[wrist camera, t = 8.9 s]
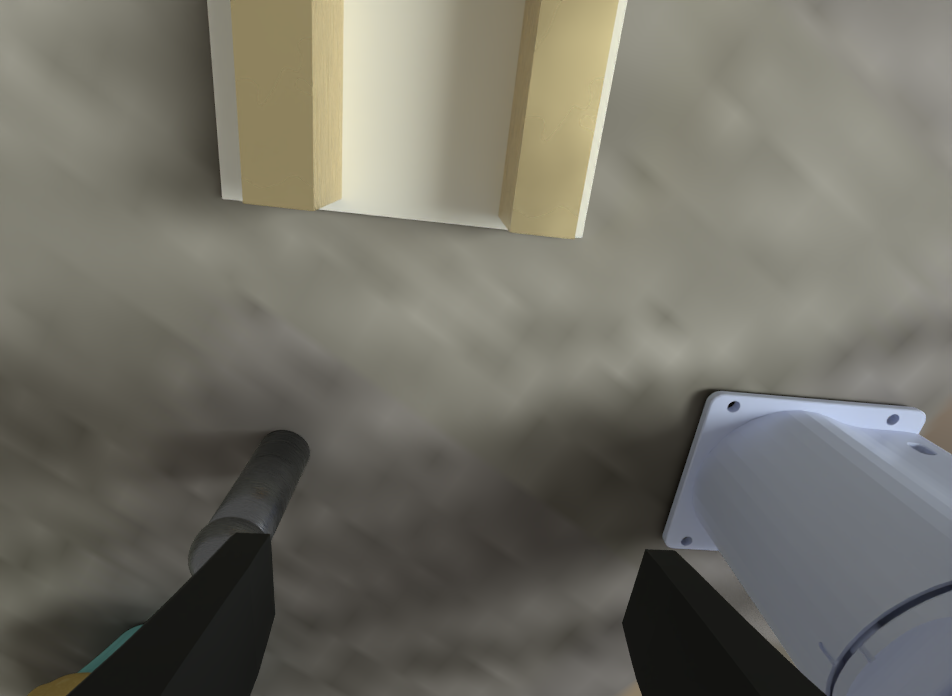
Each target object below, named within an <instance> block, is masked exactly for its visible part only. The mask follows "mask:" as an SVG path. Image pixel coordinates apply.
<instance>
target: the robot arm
mask: <svg viewBox="0 0 952 696" xmlns="http://www.w3.org/2000/svg"><path fill="white" fill-rule="evenodd" d="M733 401H735V403H734V405H733V406H731V407H729V408H727V407H728V405H729V403H731V402H733ZM889 416H890V417H889ZM888 417H889V418H888ZM925 420H926V415H925V413H924V412H923V411H921V410H919V409H917V408H914V407H907V406H895V405H883V404H871V403H859V402H847V401H835V400H823V399H811V398H799V397H787V396H775V395H764V394H752V393H740V392H728V391H716V392H714V393H712V394H711V395H710V396H709V397H708V398H707V400H706V403H705V406H704V409H703V412H702V415H701V418H700V421H699V424H698V427H697V430H696V434H695V437H694V440H693V443H692V446H691V449H690V452H689V455H688V458H687V461H686V464H685V467H684V470H683V474H682V477H681V480H680V483H679V486H678V489H677V492H676V495H675V498H674V501H673V504H672V507H671V510H670V514H669V517H668V520H667V523H666V526H665V529H664V532H663V537H662V538H663V540H664V542H665V544H666V545H667V546H668V547H670V548H678V549H696V550H715V551H720V553H721V554H722V556H723V557H724V559H725V560H726V562H727V563H728V565H729V566H730V568H731V569H732V571H733V572H734V574H735V575H736V577H737V578H738V580H739V581H740V583H741V584H742V586H743V587H744V589H745V590H746V592H747V593H748V595H749V596H750V598H751V599H752V601H753V602H754V604H755V605H756V607H757V608H758V610H759V611H760V613H761V614H762V616H763V617H764V619H765V620H766V622H767V623H768V625H769V626H770V628H771V629H772V631H773V632H774V634H775V635H776V637H777V638H778V640H779V641H780V643H781V644H782V646H783V647H784V649H785V650H786V652H787V653H788V655H789V656H790V658H791V659H792V661H793V662H794V664H795V665H796V667H797V668H798V669H797V668H796V667H795V666H794V665H793V664H792V663H790V662H789V661H788V660H787V659H786V658H785V657H784V656H783V655H782V654H781V653H780V652H779V651H778V650H777V649H775V648H774V647H773V646H772V645H771V644H770V643H769V642H768V641H767V640H766V639H765V638H764V637H763V636H762V635H761V634H760V633H759V632H758V631H757V630H756V629H755V628H754V627H753V626H752V625H750V624H749V623H748V622H747V621H746V620H745V619H744V618H743V617H742V616H741V615H740V614H739V613H738V612H737V611H736V610H735V609H734V608H733V607H732V606H731V605H730V604H729V603H728V602H727V601H726V600H725V599H724V598H723V597H722V596H721V595H720V594H719V593H718V592H717V591H716V590H715V589H714V588H713V587H712V586H711V585H710V584H709V583H708V582H707V581H706V580H705V579H704V578H703V577H702V576H701V575H700V574H699V573H698V572H697V571H696V570H695V569H694V568H693V567H692V566H691V565H690V564H688V563H687V562H686V561H685V560H684V559H683V558H682V557H681V556H680V555H679V554H678V553H677V552H676V551H673V550H648V549H645V552H644V556H643V559H642V562H641V565H640V568H639V571H638V575H637V578H636V581H635V584H634V587H633V590H632V593H631V597H630V600H629V603H628V606H627V609H626V612H625V616H624V619H623V622H622V624H623V628H624V633H625V637H626V641H627V645H628V649H629V653H630V657H631V661H632V665H633V668H634V672H635V676H636V679H637V682H638V685H639V688H640V691H641V693H642V696H952V454H950V453H948V452H947V451H945V450H943V449H942V448H940V447H938V446H937V445H935V444H934V443H932V442H930V441H929V440H927V439H925V438H924V437H922V436H920V435H919V432H920V430H921V429H922V427H923V425H924V423H925ZM685 537H687V538H685ZM683 538H685V539H683ZM274 616H275V603H274V586H273V568H272V551H271V534H263V533H239V532H236V533H235V534H234V535H232V536H231V537H230V538H229V539H228V540H227V541H226V542H225V543H224V544H223V545H222V546H221V547H220V548H219V549H218V550H217V551H216V552H215V553H214V554H213V555H212V556H211V558H210V559H209V560H208V561H207V562H206V563H205V564H204V565H203V566H202V567H201V568H200V569H199V570H198V571H197V572H196V573H195V574H194V575H193V576H192V577H191V578H190V579H189V580H188V581H187V582H186V583H185V584H184V585H183V586H182V587H181V588H180V589H179V590H178V591H177V592H176V593H175V594H174V595H173V596H172V597H171V598H170V599H169V600H168V601H167V602H166V603H165V604H164V605H163V606H162V607H161V608H160V609H159V610H158V611H157V612H156V613H155V614H154V615H153V616H152V617H151V618H150V619H149V620H148V621H147V622H145V623H144V624H143V625H142V626H141V627H140V628H139V629H138V630H137V631H136V632H135V633H134V634H133V635H132V636H131V637H130V638H129V639H128V640H127V641H126V642H125V643H124V644H123V645H121V646H120V647H119V648H118V649H117V650H116V651H115V652H114V653H113V654H112V655H111V656H109V657H108V658H107V659H106V660H105V661H104V662H103V663H102V664H101V665H99V666H98V667H97V668H96V669H95V670H94V671H93V672H92V673H91V674H89V675H88V676H87V677H86V678H85V679H84V680H83V681H82V682H81V683H79V684H78V685H77V686H76V687H75V688H74V689H73V690H72V691H71V692H69V693H68V694H67V695H66V696H250V694H251V691H252V689H253V686H254V684H255V681H256V678H257V676H258V673H259V669H260V666H261V662H262V659H263V656H264V652H265V649H266V645H267V642H268V638H269V634H270V631H271V627H272V624H273V620H274Z"/></svg>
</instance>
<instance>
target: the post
mask: <svg viewBox="0 0 952 696" xmlns="http://www.w3.org/2000/svg"><path fill="white" fill-rule="evenodd" d="M309 456H310V450H309V446H308V444H307V443H306V441H305V440H304V439H303V438H302V437H301V436H299V435H298V434H296V433H293V432H290V431H285V430H280V431H275V432H272V433H270V434H268V435H267V436H266V437H265V438H264V439H263V440H262V442H261V444H260V445H259V447H258V448H257V450H256V451H255V453H254V454H253V456H252V457H251V459H250V460H249V462H248V463H247V465H246V467H245V468H244V470H243V471H242V473H241V474H240V476H239V477H238V479H237V480H236V482H235V483H234V485H233V487H232V488H231V490H230V491H229V493H228V494H227V496H226V497H225V499H224V500H223V502H222V503H221V505H220V507H219V508H218V510H217V511H216V513H215V514H214V516H213V517H212V519H211V520H210V522H209V523H208V525H206V526H205V527H204V528H203V529H202V530H201V531H200V532H199V533H198V535H197V536H196V537H195V539H194V541H193V543H192V545H191V547H190V550H189V556H188V566H189V570H190V573H191V575H192V576H193V575H194V574H195V573H196V572H197V571H198V570H199V569H200V568H201V567H202V566H203V565H204V564H205V563H206V562H207V561H208V560H209V559H210V558H211V556H212V555H213V554H214V553H215V552H216V551H217V550H218V549H219V548H220V547H221V546H222V545H223V544H224V543H225V542H226V541H227V540H228V539H229V538H230V537H231V536H232V535H234V534H235V533H236V532H239V533H263V534H271V540H272V538H273V535H274V533H275V531H276V529H277V527H278V525H279V522H280V520H281V518H282V516H283V514H284V512H285V509H286V507H287V505H288V503H289V501H290V499H291V496H292V494H293V492H294V490H295V488H296V486H297V483H298V481H299V479H300V477H301V475H302V473H303V470H304V468H305V466H306V464H307V462H308V460H309Z"/></svg>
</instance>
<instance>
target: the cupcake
mask: <svg viewBox="0 0 952 696" xmlns="http://www.w3.org/2000/svg"><path fill="white" fill-rule="evenodd" d="M142 625H143V624H142ZM142 625H138V626H136V627H133V628H131V629H129V630H128V631H126V632H125V633H123V634H122V635H121V636H120V637H119V638H118V639H117V640H116V641H114V642H113V643H112V644H111V645H110V646H109V647H108V648H107V649H105V650H104V651H103V652H102V653H101V654H100V655H99V656H97V657H96V658H95V659H94V660H93V661H91V662H90V663H89V664H88V665H86V666H85V667H84V668H83V669H81V670H80V671H79V672H77V673H74V674H69V675H65V676H62V677H60V678H58V679H56V680H54V681H52V682H50V683H47V684H43V685H40V686H38V687H37V688H35V689H34V690H32V691H31V692H30V693H29V694H28V695H27V696H66V695H67V694H68V693H69V692H71V691H72V690H73V689H74V688H75V687H76V686H77V685H78V684H79V683H81V682H82V681H83V680H84V679H85V678H86V677H87V676H88V675H89V674H91V673H92V672H93V671H94V670H95V669H96V668H97V667H98V666H99V665H101V664H102V663H103V662H104V661H105V660H106V659H107V658H108V657H109V656H111V655H112V654H113V653H114V652H115V651H116V650H117V649H118V648H119V647H120V646H121V645H123V644H124V643H125V642H126V641H127V640H128V639H129V638H130V637H131V636H132V635H133V634H134V633H135V632H136V631H137V630H138V629H139V628H140V627H141V626H142Z"/></svg>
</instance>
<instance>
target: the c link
mask: <svg viewBox="0 0 952 696" xmlns="http://www.w3.org/2000/svg"><path fill="white" fill-rule="evenodd" d="M618 2H619V0H525V8H524V16H523V24H522V32H521V40H520V47H519V55H518V63H517V71H516V79H515V87H514V95H513V103H512V111H511V119H510V127H509V134H508V142H507V150H506V158H505V166H504V174H503V182H502V190H501V198H500V206H499V214H498V217H499V218H500V219H501V221H502V222H503V224H504V225H505V227H506V228H507V229H508V231H509V232H511V233H520V234H529V235H539V236H548V237H557V238H566V239H575V233H576V228H577V223H578V217H579V212H580V207H581V201H582V196H583V190H584V185H585V180H586V174H587V169H588V164H589V158H590V153H591V147H592V142H593V137H594V131H595V126H596V121H597V115H598V110H599V104H600V99H601V94H602V88H603V83H604V78H605V72H606V67H607V61H608V56H609V51H610V45H611V40H612V35H613V29H614V24H615V18H616V13H617V8H618ZM230 5H231V21H232V37H233V53H234V69H235V85H236V102H237V118H238V134H239V150H240V166H241V182H242V198H243V203H244V204H253V205H262V206H272V207H281V208H290V209H299V210H308V211H315V210H317V209H320V208H322V207H324V206H326V205H329V204H331V203H333V202H335V201H338V200H340V199H342V118H343V22H344V0H230Z"/></svg>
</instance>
